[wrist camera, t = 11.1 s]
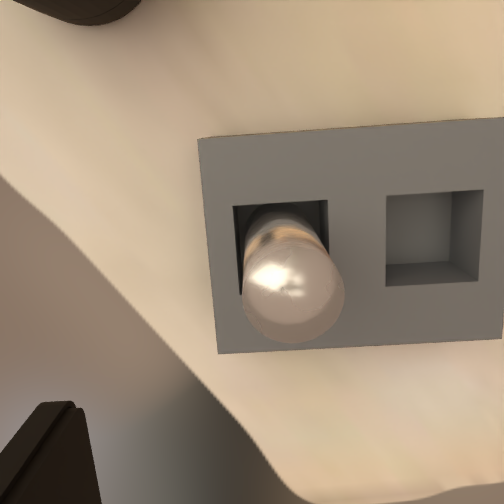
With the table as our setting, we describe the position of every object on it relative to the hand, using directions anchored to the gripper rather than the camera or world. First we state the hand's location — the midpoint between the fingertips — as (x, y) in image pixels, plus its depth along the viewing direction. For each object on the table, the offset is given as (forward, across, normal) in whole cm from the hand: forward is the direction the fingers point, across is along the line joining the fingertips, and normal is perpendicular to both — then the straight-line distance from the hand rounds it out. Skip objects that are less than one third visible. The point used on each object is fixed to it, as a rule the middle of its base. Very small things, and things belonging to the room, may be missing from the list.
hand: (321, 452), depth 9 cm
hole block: (+22, -4, 0) cm, 22 cm away
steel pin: (+20, 0, 0) cm, 20 cm away
